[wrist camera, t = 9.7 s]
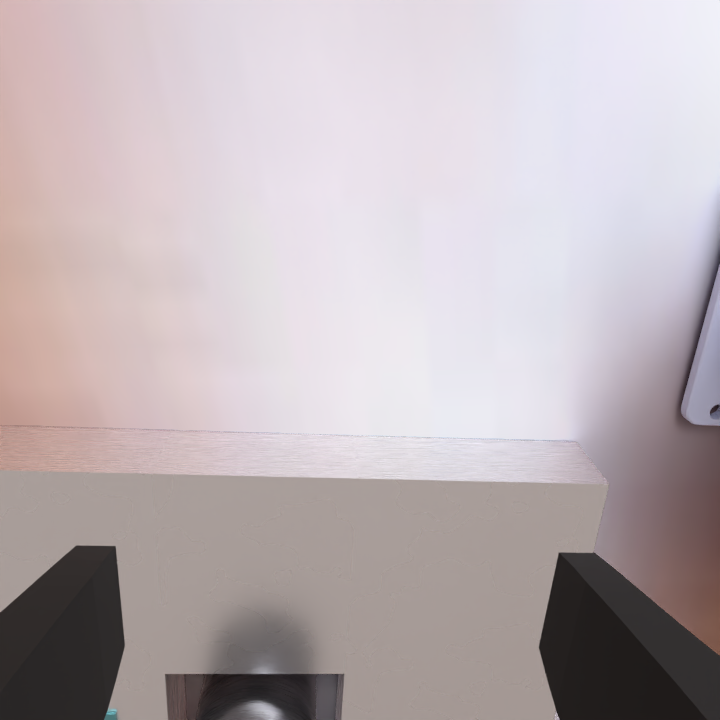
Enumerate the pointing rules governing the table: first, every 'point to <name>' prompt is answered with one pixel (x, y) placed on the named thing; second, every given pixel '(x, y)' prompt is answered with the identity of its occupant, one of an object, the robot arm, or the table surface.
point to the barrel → (258, 697)
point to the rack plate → (311, 559)
